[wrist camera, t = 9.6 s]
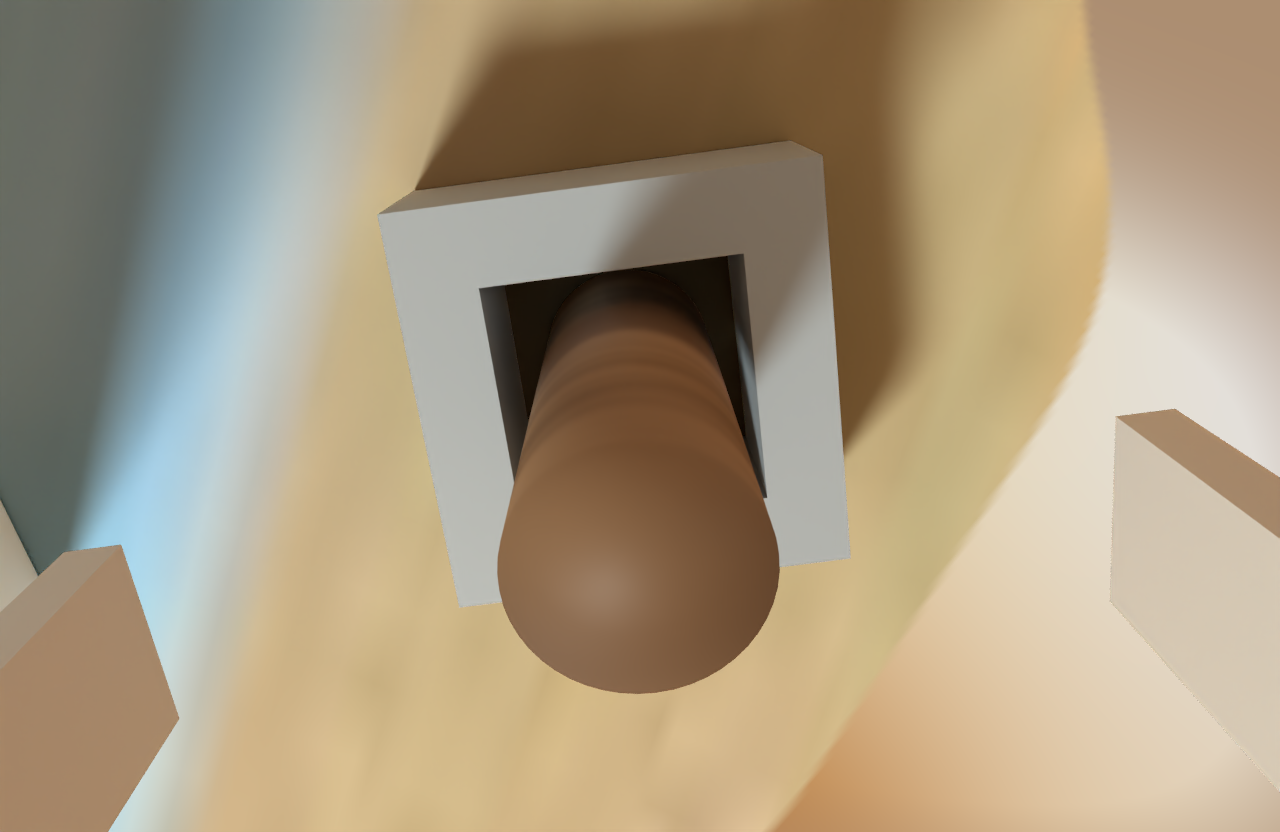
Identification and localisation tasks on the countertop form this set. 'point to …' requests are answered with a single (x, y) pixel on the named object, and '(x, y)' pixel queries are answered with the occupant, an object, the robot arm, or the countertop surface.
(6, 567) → the milk
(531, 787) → the countertop surface
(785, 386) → the socket block
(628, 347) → the peg
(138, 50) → the countertop surface
